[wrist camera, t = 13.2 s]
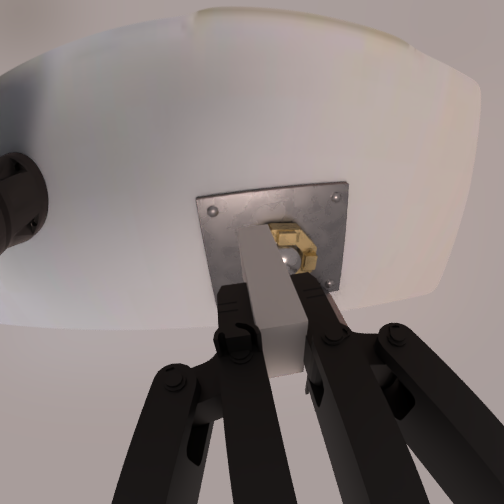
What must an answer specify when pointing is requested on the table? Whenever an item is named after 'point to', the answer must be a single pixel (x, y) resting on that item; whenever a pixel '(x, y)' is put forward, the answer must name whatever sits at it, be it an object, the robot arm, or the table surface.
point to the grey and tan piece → (301, 252)
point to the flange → (276, 211)
